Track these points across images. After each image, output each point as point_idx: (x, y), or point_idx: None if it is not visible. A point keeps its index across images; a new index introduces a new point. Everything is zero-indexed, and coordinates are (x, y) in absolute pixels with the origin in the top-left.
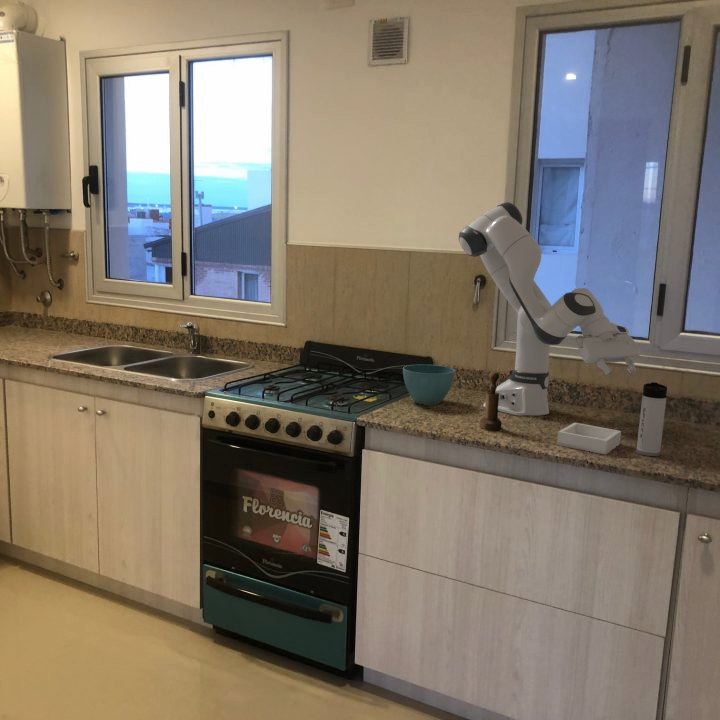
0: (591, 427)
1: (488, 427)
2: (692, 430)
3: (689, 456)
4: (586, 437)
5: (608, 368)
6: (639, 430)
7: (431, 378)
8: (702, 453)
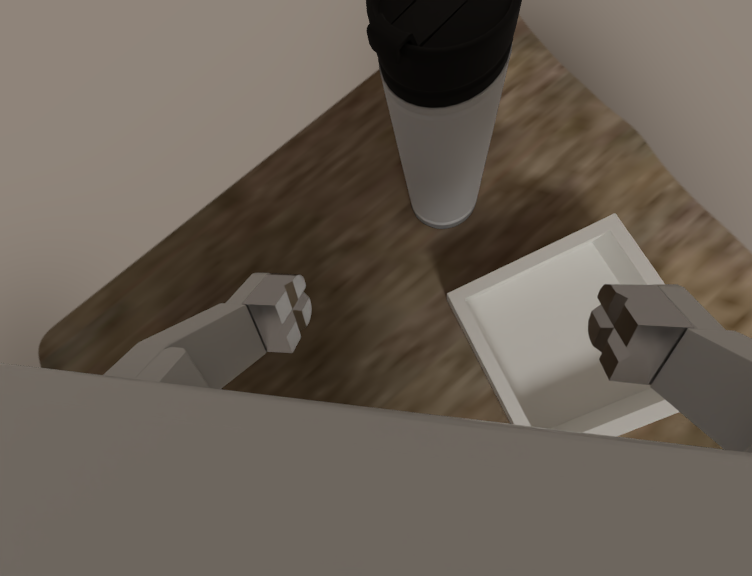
0: (509, 387)
1: None
2: (130, 321)
3: (355, 147)
4: (659, 279)
5: (683, 307)
6: (479, 178)
7: None
8: (301, 157)
